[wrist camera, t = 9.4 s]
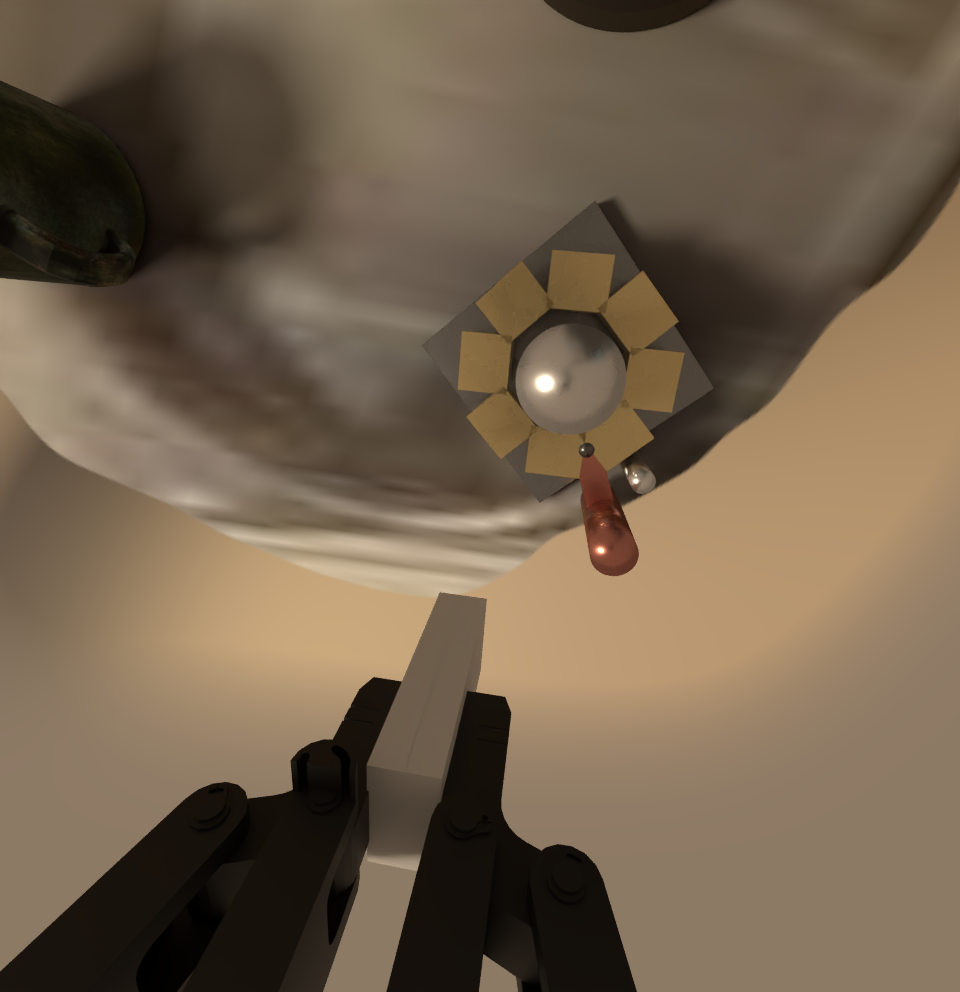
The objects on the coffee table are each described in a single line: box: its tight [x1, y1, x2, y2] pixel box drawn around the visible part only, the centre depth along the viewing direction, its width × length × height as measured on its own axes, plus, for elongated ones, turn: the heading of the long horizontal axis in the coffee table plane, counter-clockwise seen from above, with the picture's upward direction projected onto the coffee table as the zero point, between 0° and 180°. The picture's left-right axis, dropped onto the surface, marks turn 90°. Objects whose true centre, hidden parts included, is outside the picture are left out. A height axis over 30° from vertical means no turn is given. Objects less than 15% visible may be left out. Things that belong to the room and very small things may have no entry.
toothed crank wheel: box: [458, 250, 684, 576], centre depth 28 cm, size 16×12×8 cm
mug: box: [0, 81, 145, 287], centre depth 28 cm, size 11×15×12 cm
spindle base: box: [422, 201, 714, 502], centre depth 28 cm, size 13×15×10 cm
